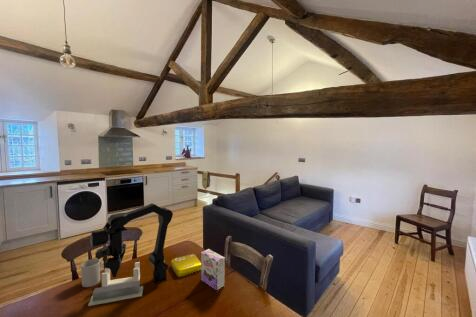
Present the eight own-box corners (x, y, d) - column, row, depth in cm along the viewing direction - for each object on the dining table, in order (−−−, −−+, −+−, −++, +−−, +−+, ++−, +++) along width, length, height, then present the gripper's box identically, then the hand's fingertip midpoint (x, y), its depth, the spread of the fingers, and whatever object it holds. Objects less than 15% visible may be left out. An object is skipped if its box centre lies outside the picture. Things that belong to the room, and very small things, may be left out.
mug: (92, 288, 116) (91, 267, 115) (77, 286, 117) (76, 266, 116) (108, 274, 128) (107, 256, 127) (94, 273, 129) (94, 255, 128)
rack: (140, 275, 128) (140, 261, 127) (139, 282, 121) (138, 268, 120) (104, 280, 122) (104, 266, 122) (101, 289, 115) (100, 274, 115)
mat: (143, 287, 117) (143, 285, 117) (141, 296, 110) (141, 294, 110) (92, 296, 110) (92, 294, 110) (88, 306, 103) (88, 304, 103)
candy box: (200, 280, 124) (200, 251, 123) (208, 275, 128) (208, 248, 127) (216, 292, 114) (216, 261, 113) (225, 286, 118) (225, 257, 117)
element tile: (177, 278, 126) (177, 270, 126) (170, 265, 139) (170, 258, 138) (202, 270, 134) (202, 263, 133) (193, 259, 147) (193, 252, 146)
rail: (139, 288, 115) (139, 280, 115) (138, 293, 111) (138, 285, 111) (95, 296, 109) (95, 288, 109) (92, 301, 105) (92, 293, 105)
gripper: (102, 235, 115) (102, 264, 116) (90, 251, 97) (91, 286, 98) (126, 232, 118) (126, 261, 119) (119, 248, 100) (120, 281, 101)
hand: (116, 271), depth 109 cm, fingers open, 9 cm apart
